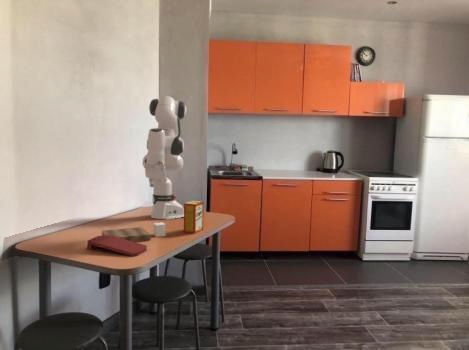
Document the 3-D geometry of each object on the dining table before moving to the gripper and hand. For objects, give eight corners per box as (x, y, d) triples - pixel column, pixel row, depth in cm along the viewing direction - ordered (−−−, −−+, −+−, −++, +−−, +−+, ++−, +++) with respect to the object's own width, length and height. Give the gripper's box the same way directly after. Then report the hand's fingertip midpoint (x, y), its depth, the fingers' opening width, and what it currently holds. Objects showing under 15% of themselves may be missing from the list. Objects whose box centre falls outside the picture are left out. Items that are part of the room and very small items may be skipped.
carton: (147, 256, 184) (100, 242, 191) (149, 246, 184) (101, 232, 190) (133, 264, 173) (83, 249, 179) (135, 253, 172) (85, 239, 178)
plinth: (141, 232, 212) (141, 227, 212) (150, 240, 198) (150, 234, 198) (102, 236, 203) (101, 230, 203) (108, 244, 189) (108, 238, 189)
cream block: (162, 233, 212) (162, 222, 211) (165, 235, 208) (165, 224, 207) (153, 234, 210) (153, 223, 209) (156, 236, 205) (156, 225, 205)
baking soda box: (194, 233, 213) (195, 203, 212) (183, 232, 216) (184, 202, 214) (202, 229, 222) (203, 200, 220) (192, 228, 225) (192, 199, 223)
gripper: (169, 162, 197) (168, 190, 198) (154, 159, 214) (154, 186, 215) (157, 161, 194) (156, 190, 195) (143, 159, 211) (142, 186, 212)
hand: (154, 188), depth 205 cm, fingers open, 8 cm apart
